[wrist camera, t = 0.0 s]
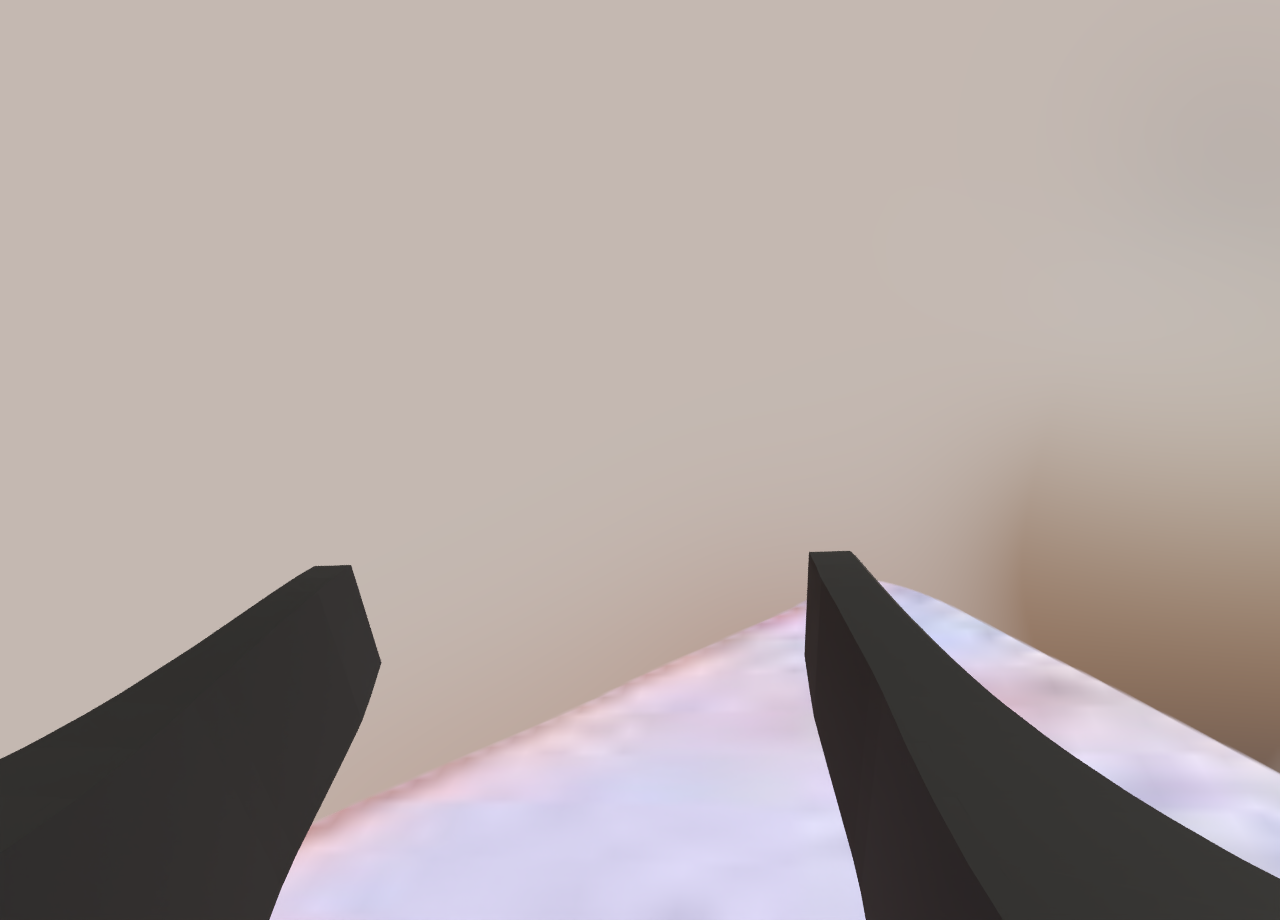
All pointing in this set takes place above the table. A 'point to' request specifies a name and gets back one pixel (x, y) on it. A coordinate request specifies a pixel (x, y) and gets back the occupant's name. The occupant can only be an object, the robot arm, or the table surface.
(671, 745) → the table surface
